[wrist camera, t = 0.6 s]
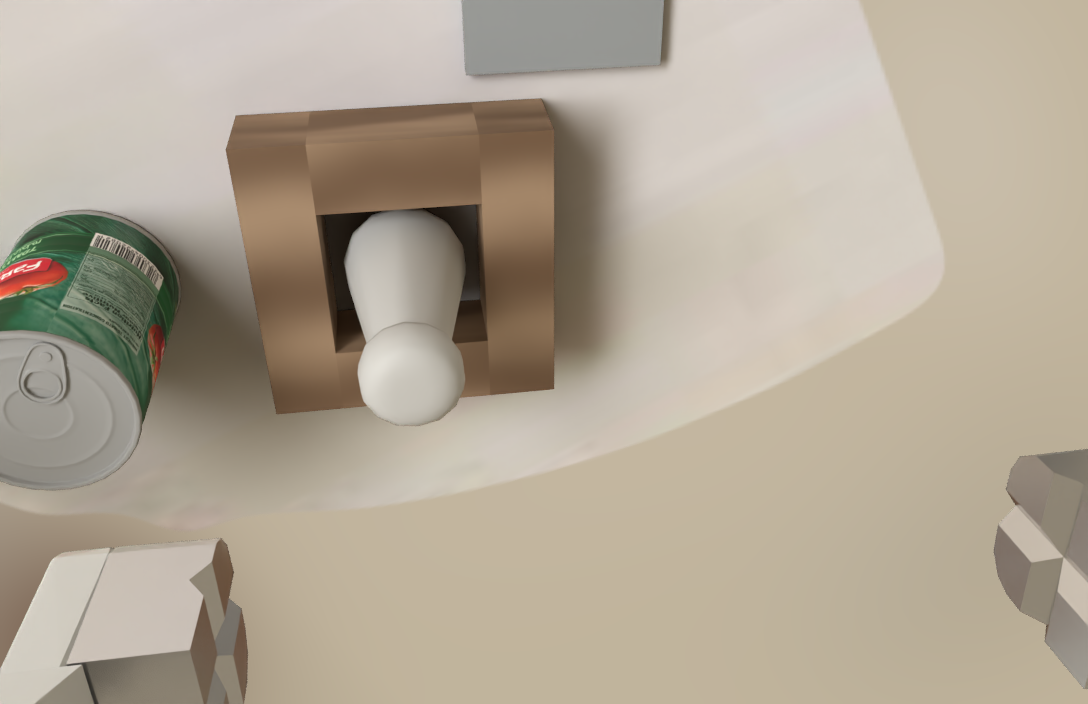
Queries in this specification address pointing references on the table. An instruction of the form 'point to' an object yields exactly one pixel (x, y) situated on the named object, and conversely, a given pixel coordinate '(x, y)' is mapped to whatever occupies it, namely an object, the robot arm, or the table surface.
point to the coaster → (560, 34)
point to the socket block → (392, 184)
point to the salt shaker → (407, 314)
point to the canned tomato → (80, 346)
